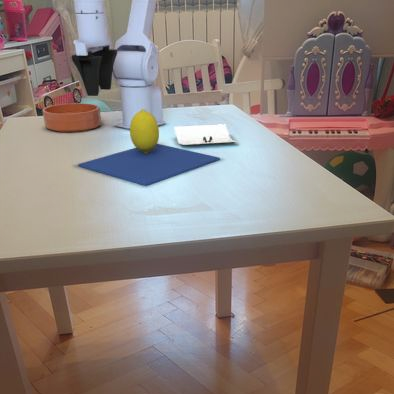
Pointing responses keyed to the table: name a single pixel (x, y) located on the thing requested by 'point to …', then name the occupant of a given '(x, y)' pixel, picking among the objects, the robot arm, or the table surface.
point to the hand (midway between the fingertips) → (99, 92)
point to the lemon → (144, 131)
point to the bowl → (72, 117)
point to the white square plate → (202, 134)
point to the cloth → (149, 164)
